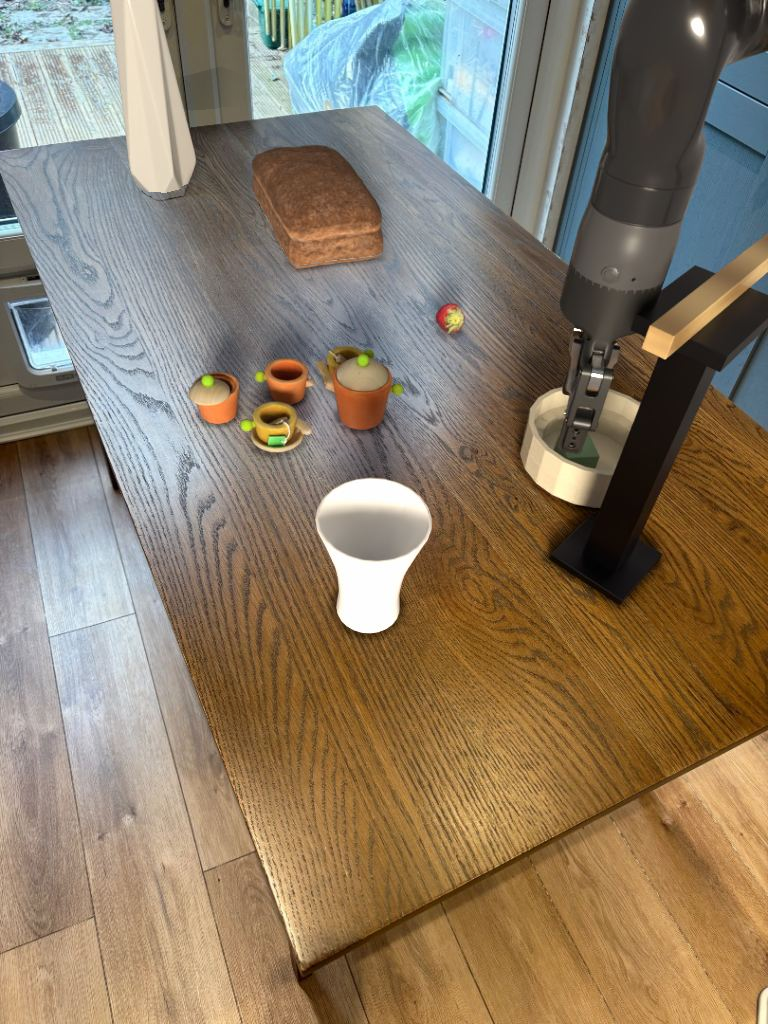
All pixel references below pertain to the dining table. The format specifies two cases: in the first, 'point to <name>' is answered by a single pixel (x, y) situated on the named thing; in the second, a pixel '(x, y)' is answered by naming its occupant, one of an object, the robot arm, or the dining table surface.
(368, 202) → the bread
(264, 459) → the dining table surface
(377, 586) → the cup
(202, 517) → the dining table surface
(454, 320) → the fruit
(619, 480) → the stand
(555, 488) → the bowl
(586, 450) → the block
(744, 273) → the rectangular bar
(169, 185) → the vase
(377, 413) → the toy tea set
